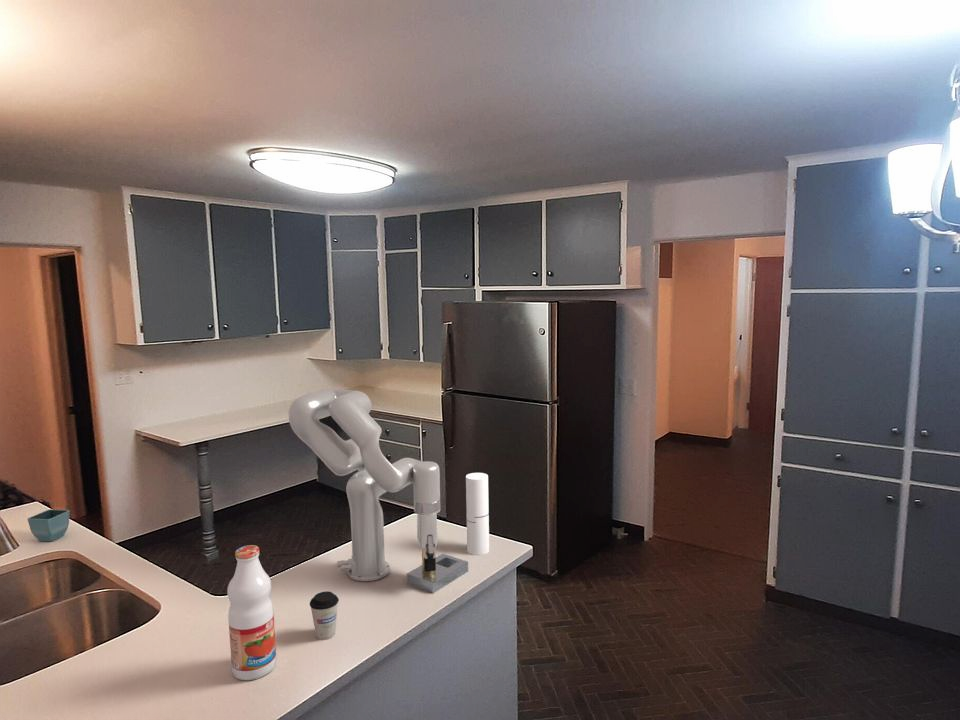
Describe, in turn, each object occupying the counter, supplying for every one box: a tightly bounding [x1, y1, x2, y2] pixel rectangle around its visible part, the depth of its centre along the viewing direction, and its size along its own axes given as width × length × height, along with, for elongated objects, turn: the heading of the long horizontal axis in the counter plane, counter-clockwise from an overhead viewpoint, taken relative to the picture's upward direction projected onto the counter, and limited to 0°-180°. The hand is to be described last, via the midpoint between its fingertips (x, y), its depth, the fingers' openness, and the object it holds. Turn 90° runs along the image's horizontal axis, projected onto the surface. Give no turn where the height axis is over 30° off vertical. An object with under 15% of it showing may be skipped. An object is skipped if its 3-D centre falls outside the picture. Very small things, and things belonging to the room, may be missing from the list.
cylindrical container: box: [465, 472, 490, 556], centre depth 190 cm, size 7×7×25 cm
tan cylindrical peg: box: [421, 545, 436, 576], centre depth 170 cm, size 4×4×8 cm
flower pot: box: [27, 509, 70, 542], centre depth 205 cm, size 9×9×9 cm
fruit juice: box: [226, 544, 277, 681], centre depth 131 cm, size 9×9×28 cm
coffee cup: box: [309, 590, 340, 641], centre depth 145 cm, size 7×7×10 cm
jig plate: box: [406, 553, 469, 594], centre depth 173 cm, size 16×10×3 cm, turn 143°
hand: (428, 565), depth 170 cm, fingers open, 5 cm apart
